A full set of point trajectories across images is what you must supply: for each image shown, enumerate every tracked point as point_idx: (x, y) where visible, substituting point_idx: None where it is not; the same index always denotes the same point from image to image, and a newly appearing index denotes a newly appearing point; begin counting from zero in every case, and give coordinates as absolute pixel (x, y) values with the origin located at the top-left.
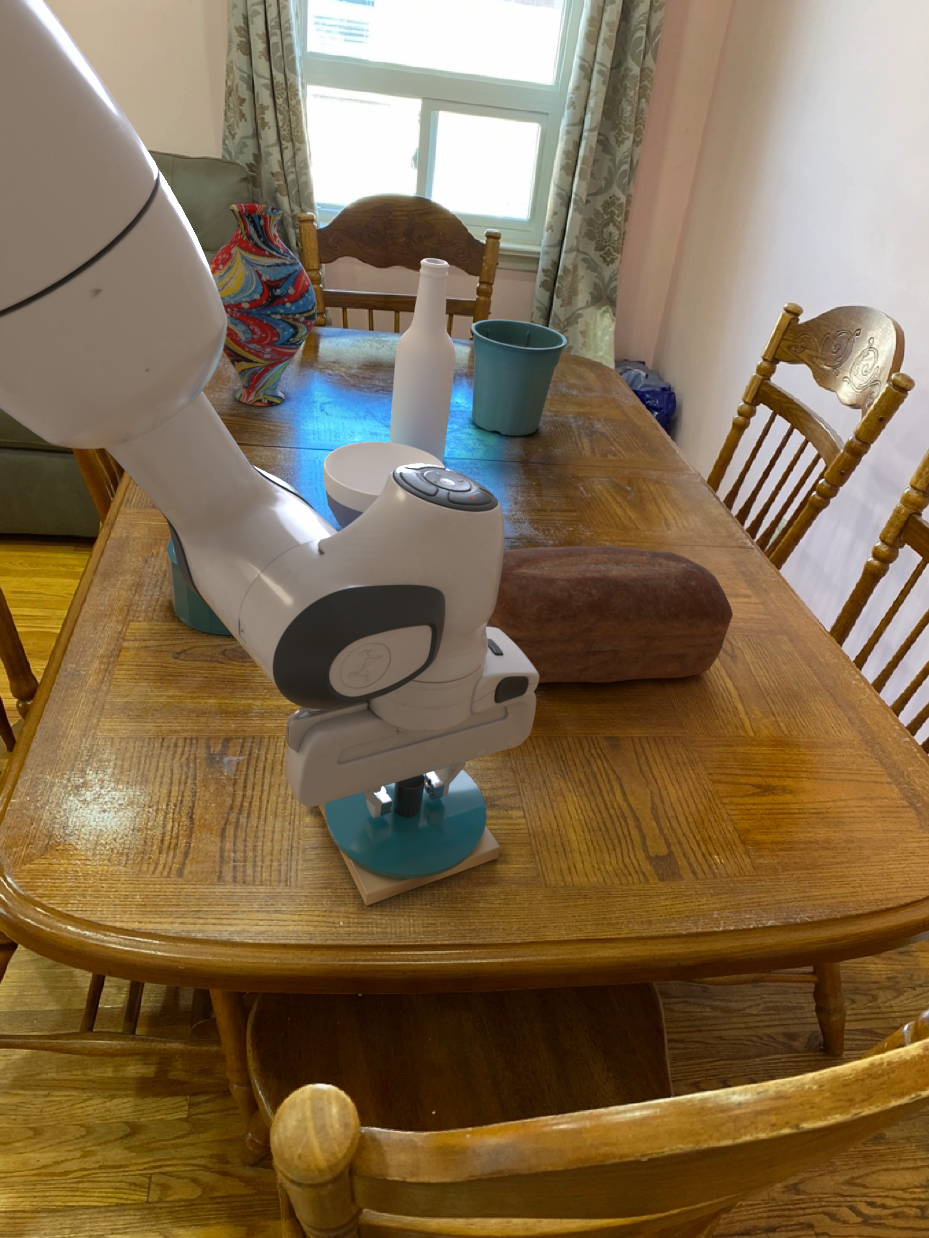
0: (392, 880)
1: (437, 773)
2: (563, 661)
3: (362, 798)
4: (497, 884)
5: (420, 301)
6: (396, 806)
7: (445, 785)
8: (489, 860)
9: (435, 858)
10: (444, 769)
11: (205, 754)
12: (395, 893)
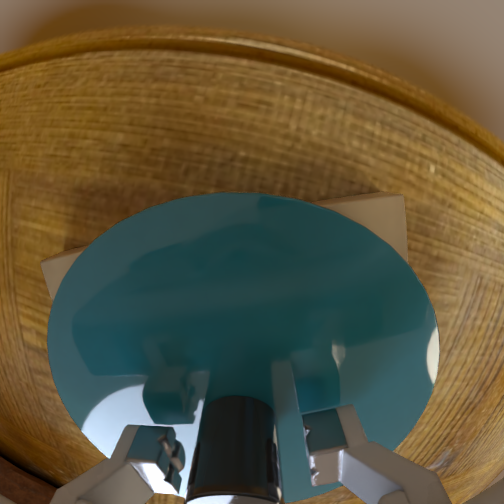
0: None
1: (143, 487)
2: (1, 487)
3: None
4: (75, 186)
5: None
6: (276, 428)
7: (122, 456)
8: (75, 248)
9: (196, 243)
10: (120, 496)
11: (451, 464)
12: (316, 201)
